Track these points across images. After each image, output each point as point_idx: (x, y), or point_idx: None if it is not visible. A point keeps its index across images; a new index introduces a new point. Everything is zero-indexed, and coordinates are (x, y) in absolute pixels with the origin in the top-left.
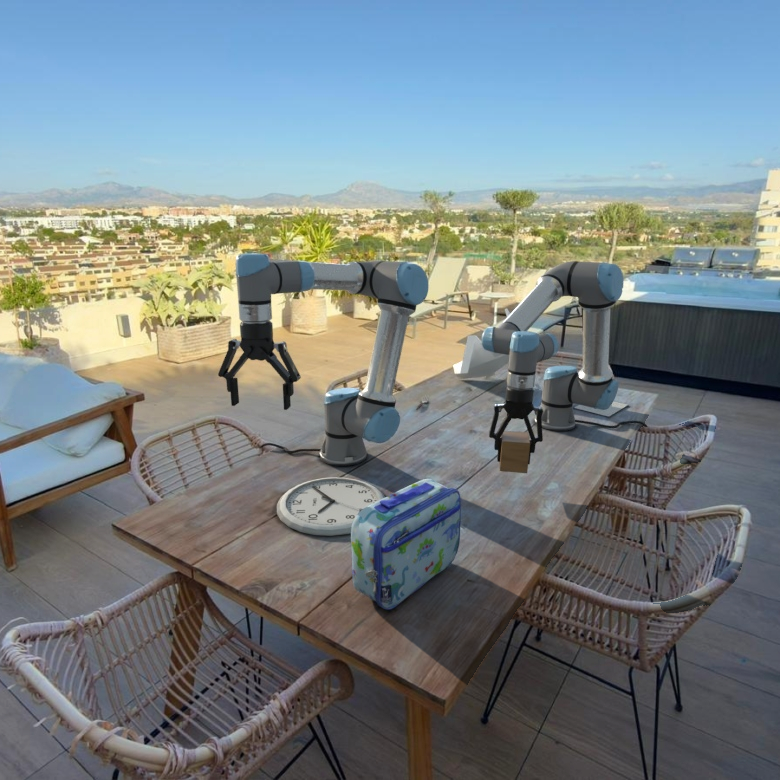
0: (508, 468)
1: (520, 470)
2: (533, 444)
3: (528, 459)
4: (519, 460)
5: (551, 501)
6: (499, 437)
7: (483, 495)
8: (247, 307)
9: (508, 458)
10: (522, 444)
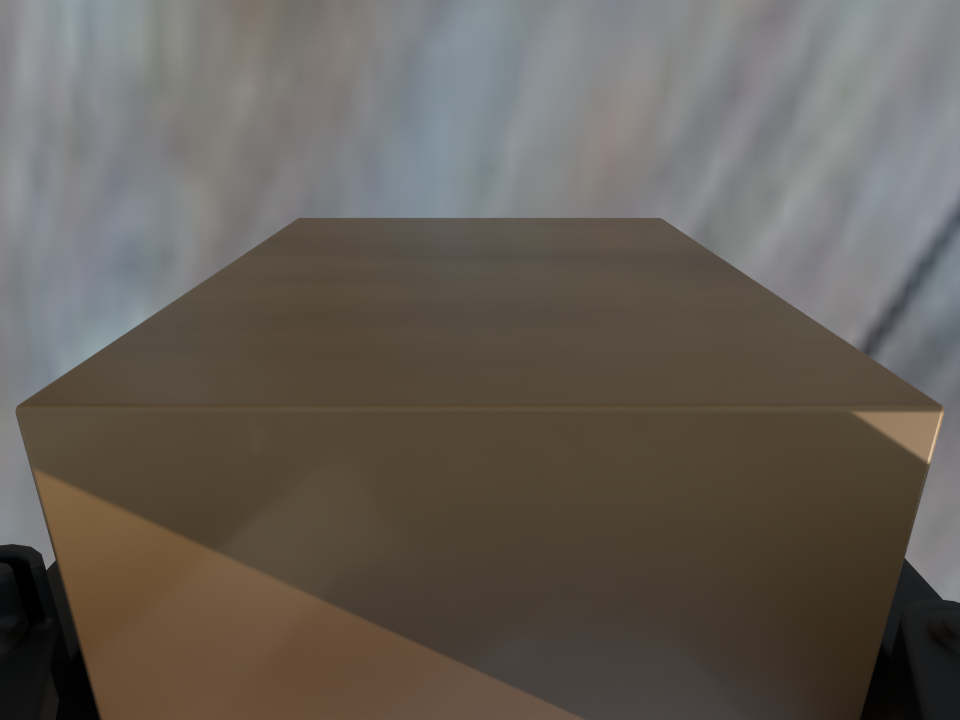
0: (554, 227)
1: (383, 222)
2: (61, 601)
3: (226, 268)
4: (393, 257)
5: (89, 53)
6: (938, 665)
7: (770, 38)
8: None
9: (592, 262)
10: (284, 383)
